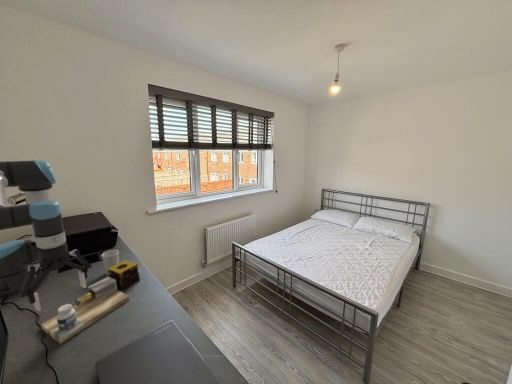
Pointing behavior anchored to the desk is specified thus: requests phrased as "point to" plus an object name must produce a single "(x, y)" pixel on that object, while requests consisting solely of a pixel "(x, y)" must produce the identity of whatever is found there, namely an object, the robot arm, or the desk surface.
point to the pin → (84, 298)
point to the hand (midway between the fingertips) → (62, 297)
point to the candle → (124, 274)
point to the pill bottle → (66, 318)
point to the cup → (110, 259)
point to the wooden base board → (89, 309)
